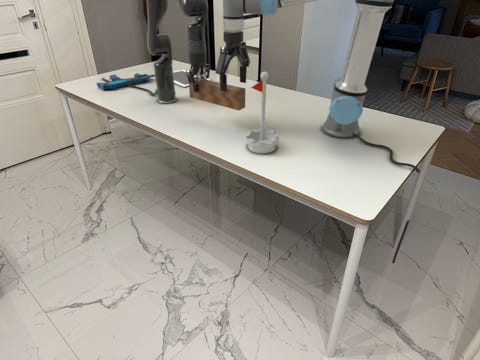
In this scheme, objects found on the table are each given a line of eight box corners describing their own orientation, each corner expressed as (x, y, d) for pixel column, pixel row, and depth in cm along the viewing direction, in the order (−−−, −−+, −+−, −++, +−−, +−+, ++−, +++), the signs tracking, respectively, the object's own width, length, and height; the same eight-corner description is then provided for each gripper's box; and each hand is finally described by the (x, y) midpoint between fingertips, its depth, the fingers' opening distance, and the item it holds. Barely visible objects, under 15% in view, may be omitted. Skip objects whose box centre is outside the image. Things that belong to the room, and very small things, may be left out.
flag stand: (269, 137, 144) (273, 65, 127) (283, 151, 134) (289, 74, 117) (240, 142, 140) (240, 68, 123) (253, 157, 130) (255, 78, 113)
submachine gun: (140, 68, 226) (159, 74, 209) (142, 73, 228) (160, 80, 211) (89, 77, 207) (104, 85, 190) (90, 84, 209) (106, 92, 192)
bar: (245, 107, 143) (245, 88, 139) (239, 110, 140) (239, 91, 136) (196, 94, 156) (195, 77, 152) (190, 97, 153) (188, 79, 149)
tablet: (157, 75, 221) (157, 74, 221) (183, 69, 232) (183, 69, 232) (184, 87, 201) (183, 86, 200) (211, 80, 212) (211, 79, 211)
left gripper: (201, 46, 148) (203, 84, 157) (178, 52, 138) (182, 93, 148) (215, 48, 144) (216, 87, 154) (192, 55, 135) (195, 96, 144)
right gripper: (243, 25, 137) (243, 77, 149) (204, 34, 120) (207, 92, 132) (259, 27, 134) (257, 80, 146) (221, 37, 117) (222, 96, 128)
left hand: (199, 90), depth 151 cm, fingers closed on bar, 4 cm apart
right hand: (233, 86), depth 139 cm, fingers open, 13 cm apart
